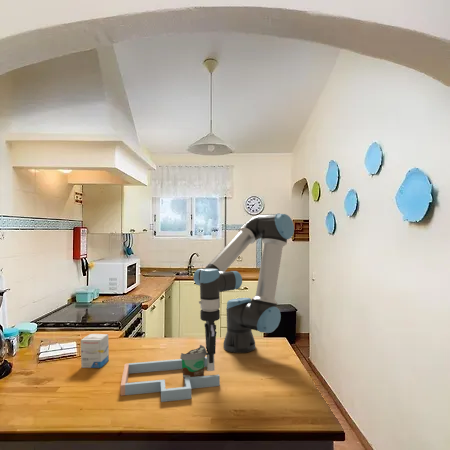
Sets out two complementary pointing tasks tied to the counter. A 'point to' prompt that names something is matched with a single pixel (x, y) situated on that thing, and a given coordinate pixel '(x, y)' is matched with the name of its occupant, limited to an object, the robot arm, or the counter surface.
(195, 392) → the counter surface
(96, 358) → the ink box
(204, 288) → the robot arm
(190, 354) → the food container
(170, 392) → the channel
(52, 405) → the counter surface
